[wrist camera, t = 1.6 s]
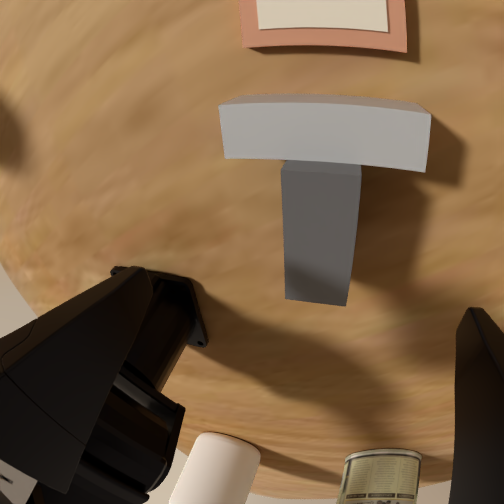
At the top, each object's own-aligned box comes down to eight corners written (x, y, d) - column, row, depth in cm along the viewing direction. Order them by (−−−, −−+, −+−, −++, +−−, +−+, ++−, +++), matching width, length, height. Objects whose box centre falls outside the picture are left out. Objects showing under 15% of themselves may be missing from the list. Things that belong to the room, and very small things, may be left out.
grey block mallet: (394, 259, 14) (399, 312, 11) (256, 245, 16) (233, 291, 13) (416, 103, 10) (439, 121, 7) (241, 95, 12) (206, 110, 9)
